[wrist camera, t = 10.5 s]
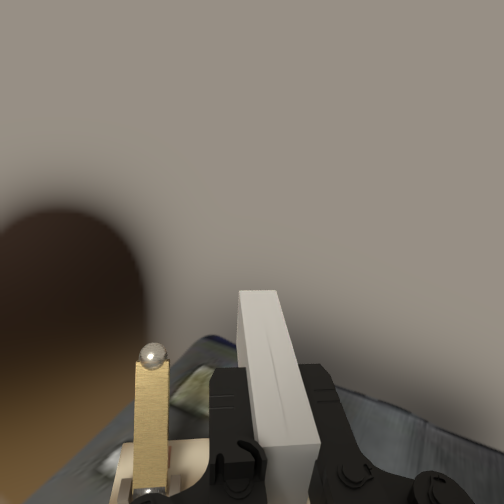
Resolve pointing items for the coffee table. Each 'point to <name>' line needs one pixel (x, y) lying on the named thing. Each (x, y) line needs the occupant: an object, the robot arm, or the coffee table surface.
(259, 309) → the robot arm
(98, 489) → the coffee table surface
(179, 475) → the console
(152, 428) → the lever brass
